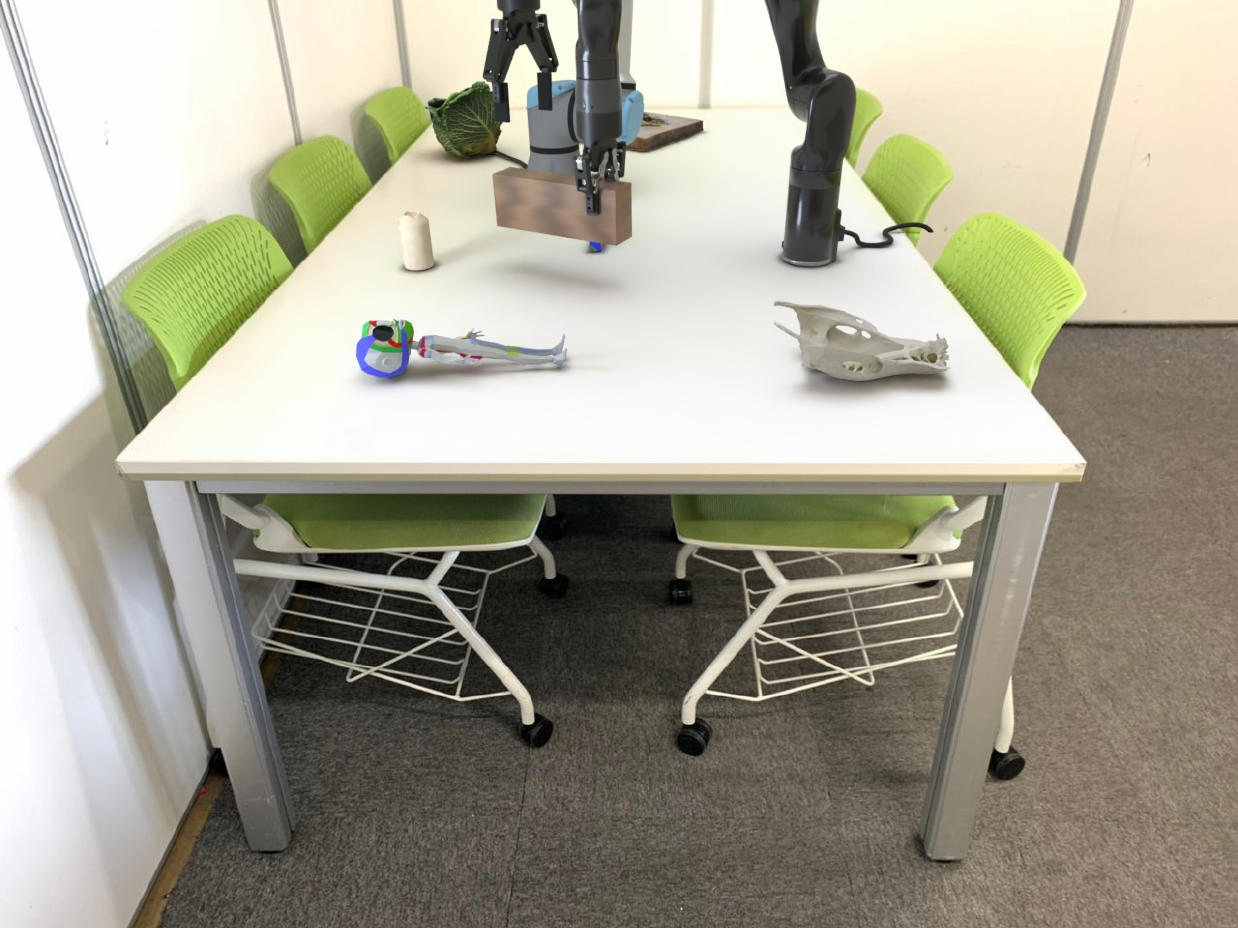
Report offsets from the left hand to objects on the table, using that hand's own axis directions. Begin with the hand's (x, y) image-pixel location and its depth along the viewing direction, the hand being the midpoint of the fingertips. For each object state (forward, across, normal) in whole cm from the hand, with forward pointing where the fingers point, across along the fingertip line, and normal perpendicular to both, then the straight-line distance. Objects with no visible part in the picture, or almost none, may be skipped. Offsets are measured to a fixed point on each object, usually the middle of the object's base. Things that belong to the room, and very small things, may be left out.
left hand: (524, 116), depth 165 cm
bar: (+17, -10, -14) cm, 24 cm away
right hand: (+12, -10, -22) cm, 27 cm away
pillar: (+24, +12, -9) cm, 29 cm away
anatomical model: (+26, -23, -73) cm, 81 cm away
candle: (+25, -19, +13) cm, 34 cm away
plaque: (+22, +95, +30) cm, 102 cm away
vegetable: (+23, +55, +58) cm, 83 cm away
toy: (+26, -50, -22) cm, 60 cm away
